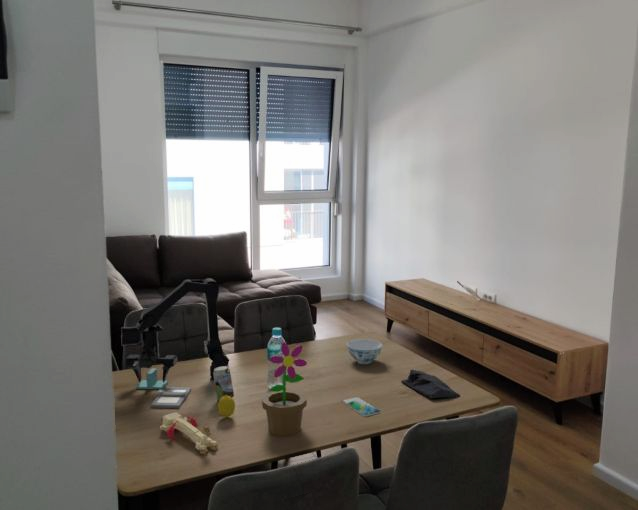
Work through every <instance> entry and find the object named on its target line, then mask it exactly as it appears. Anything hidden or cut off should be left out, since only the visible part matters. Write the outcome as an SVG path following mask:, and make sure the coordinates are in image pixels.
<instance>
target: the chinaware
mask: <svg viewBox="0 0 638 510" xmlns="http://www.w3.org/2000/svg"><path fill="white" fill-rule="evenodd" d="M346 347H347V351H348V353H349V355H350V356H351V357H352V358H353V359H354V360H356V363H357V362H358V364H360V365H370V364H372V363H373V361H374V360H376V358H378V357H379V355H380V354H381V351H382V348H383V343H381V342H380V341H378V340H375V339H369V338H358V339H353V340H350V341H348V342H347V343H346ZM371 362H372V363H371ZM369 363H370V364H369Z"/></svg>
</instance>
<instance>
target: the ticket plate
mask: <svg viewBox="0 0 638 510" xmlns="http://www.w3.org/2000/svg"><path fill="white" fill-rule="evenodd" d="M191 391H192V387H172V386H171V387H169V386H168V387H166V386H165V387H164V388H163V389H158V390H157V396H156V397H155V399H154V400H153V401H152V403H150V409H151V408H153V409H159V408H160V409H180V408H181V406H182V405H183V403H184V402H185V401H186V399H187V398H188V395H189V394H190V393H191Z"/></svg>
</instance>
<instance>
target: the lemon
mask: <svg viewBox="0 0 638 510" xmlns="http://www.w3.org/2000/svg"><path fill="white" fill-rule="evenodd" d="M235 406H236V404H235V401H234V398H233V397H230V396H227V395H225V396H223V397H222V398H221V399H220V400H218V405H217V411H218V413H219V415H220V416H222V417H224V418H225V419H228V418H229V417H231V416H232V415H233V414H234V412H235V409H236V407H235Z"/></svg>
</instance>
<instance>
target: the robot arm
mask: <svg viewBox="0 0 638 510" xmlns="http://www.w3.org/2000/svg"><path fill="white" fill-rule="evenodd" d="M190 292H194V293H201V294H203V298H204V301H205V308H206V322H207V323H206V326H207V340H203V344H204V349H203V351H204V353H205V354H206V356H208V359H209V360H210V361H211V363H210V366H209V375H210V380H214V376H213V372H214V369H215V368H217V367H221V366H227V367H228V369H229V362H230V359H229V358H228V356H227V354H226V353H225V352H224V350H223V346H222V343H221V340H220V337H219V336H220V335H219V321H218V320H219V319H218V307H217V304H218V303H217V302H218V298H219V295H220V294H219V292H220V285H219V284H218V283H217V281H216V280H215V279H213V278H210V277H207V278H205V279H184V280H183V281H182V283H180V284H179V285H178V286H176V287H175V288H174V289H173V290H172V291H171V292H169V293H168V294H167V295H166V296H164V297H163V298H162V299H161V300H160V301H159V302H157V303H155V304H153V305H149V306H148V307H147V308H145V309H143V311H142V312H141V313H140V319H139V320H138V321H137V323H135V326H122V327H121V328H120V329H121V334H120V338H121V339H120V340H121V346H122V347H125V346H132V345H133V346H134V345H138V344H140V342H141V341H142V343H141V344H142V345H141V349H140V351H141V352H140V354H129V355H128V356H127V357H126V358H125V359H124V361H123V363H124V366H125V367H128V369H131V370H133V372H134V374H135V375H136V378H137V381H138V382H139V383H140V382H141V381H142V369H143V368H144V369H145V368H146V369H150V368H151V369H152V367H153V365H157V364H162V365H163V366H162V381H163V383H164V382H165V381H167V380H166V379H167V377H168V373H169V371H170V369H171V368H173V367H174V366H175V365H176V364H177V363H178V356H177V355H176V354H166V356H165V357H160V355H161V354H160V352H159V346H160V343H159V334H158V333H159V332H162V331H163V330H164V328H163V327H162V326H161V325H160V324H159V323H158V322H159V321H160V320H161V319H162V317H163V316H164V314H165V313H166V312H167V311H168V310H169V309H170V308H172V307H173V306H174V305H175V304H176V303H177V302H179V301H180V300H181V299H182V298H183V297H185V296H186V295H187V294H188V293H190ZM229 370H230V369H229Z"/></svg>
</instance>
